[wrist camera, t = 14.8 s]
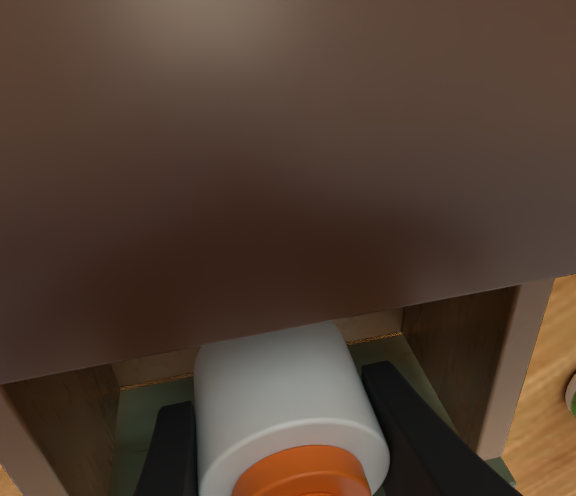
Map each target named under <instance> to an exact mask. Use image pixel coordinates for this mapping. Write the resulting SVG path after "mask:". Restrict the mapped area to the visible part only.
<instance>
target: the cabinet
mask: <svg viewBox="0 0 576 496" xmlns="http://www.w3.org/2000/svg"><path fill="white" fill-rule="evenodd" d="M573 274H576V0H0V385H1V384H6V383H11V382H16V381H22V380H27V379H32V378H37V377H42V376H48V375H53V374H58V373H63V372H68V371H74V370H79V369H84V368H89V367H94V366H100V365H105V364H110V363H115V362H120V361H126V360H131V359H136V358H141V357H146V356H152V355H157V354H162V353H167V352H172V351H178V350H183V349H188V348H193V347H198V346H204V345H209V344H214V343H219V342H224V341H230V340H235V339H240V338H245V337H250V336H256V335H261V334H266V333H271V332H276V331H282V330H287V329H292V328H297V327H302V326H308V325H313V324H318V323H323V322H328V321H334V320H339V319H344V318H349V317H354V316H360V315H365V314H370V313H375V312H380V311H386V310H391V309H396V308H401V307H406V306H412V305H417V304H422V303H427V302H432V301H438V300H443V299H448V298H453V297H458V296H464V295H469V294H474V293H479V292H484V291H490V290H495V289H500V288H505V287H510V286H516V285H521V284H526V283H531V282H536V281H542V280H547V279H552V278H557V277H562V276H568V275H573Z"/></svg>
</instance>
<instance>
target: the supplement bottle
mask: <svg viewBox="0 0 576 496" xmlns="http://www.w3.org/2000/svg"><path fill="white" fill-rule="evenodd" d="M565 400H566V404H567V406H568V408H569V410H570V411H571V412H572V414H573V415H574V416H575V417H576V373H575V375H574V376H573V378H572V379H571V381H570V383H569V385H568V387H567V390H566V395H565Z"/></svg>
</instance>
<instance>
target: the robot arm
mask: <svg viewBox="0 0 576 496" xmlns="http://www.w3.org/2000/svg"><path fill="white" fill-rule="evenodd" d="M361 381H362V383H363V386H364V388H365V391H366V393H367V396H368V398H369V401H370V403H371V405H372V408H373V410H374V413H375V415H376V418H377V420H378V422H379V425H380V427H381V430H382V432H383V435H384V437H385V440H386V442H387V444H388V448H389V451H390V465H389V470H388V473H387V475H386V478H385V479H384V481H383V483H382V487H383V489H384V491H385V494H386V496H523V495H522V494H521V493H519V492H518V491H517V490H516V489H515V488H514V487H512V486H511V485H510V484H509V483H508V482H507V481H506V480H504V479H503V478H502V477H501V476H500V475H499V474H498V473H497V472H496V471H495V470H493V469H492V468H491V467H490V466H489V465H488V464H487V463H486V462H485V461H484V460H483V459H482V458H480V457H479V456H478V455H477V454H476V453H475V452H474V451H473V450H472V449H471V448H470V447H469V446H468V445H467V444H466V443H465V442H464V441H463V440H462V439H461V438H460V437H459V436H458V435H457V434H456V433H455V432H454V431H453V430H452V429H451V428H450V427H449V426H448V425H447V424H446V423H445V422H444V421H443V420H442V419H441V418H440V417H439V416H438V415H437V414H436V413H435V411H434V410H433V409H432V408H431V407H430V406H429V405H428V404H427V403H426V402H425V401H424V400H423V398H422V397H421V396H420V395H419V394H418V393H417V392H416V391H415V390H414V388H413V387H412V386H411V385H410V384H409V383H408V381H407V380H406V379H405V378H404V377H403V376H402V374H401V373H400V372H399V371H398V370H397V368H396V367H395V366H394V365H393V364H392V363H391V362H390V361H388V360H387V361H382V362H377V363H372V364H367V365H362V372H361ZM133 496H198V475H197V443H196V418H195V412H194V409H193V405H192V402H191V401H186V402H181V403H176V404H171V405H166V406H162V407H161V409H160V410H159V411H158V415H157V419H156V424H155V428H154V432H153V435H152V439H151V443H150V446H149V449H148V453H147V456H146V459H145V462H144V465H143V469H142V472H141V475H140V478H139V480H138V483H137V486H136V489H135V492H134V494H133Z"/></svg>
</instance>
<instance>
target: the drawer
mask: <svg viewBox="0 0 576 496" xmlns="http://www.w3.org/2000/svg"><path fill="white" fill-rule="evenodd" d="M554 280H555V278H552V279H547V280H542V281H536V282H531V283H526V284H521V285H516V286H510V287H505V288H500V289H495V290H490V291H484V292H479V293H474V294H469V295H464V296H458V297H453V298H448V299H443V300H438V301H432V302H427V303H422V304H417V305H412V306H406V307H401V308H396V309H391V310H386V311H380V312H375V313H370V314H365V315H360V316H354V317H349V318H344V319H339V320H334V321H332V322H333V323H334V324H335V325H336V326H337V327H338V329H339V330H340V331H341V333H342V335H343V337H344V339H345V342H351V341H356V340H361V339H366V338H371V337H376V336H381V335H386V334H391V333H396V332H401V331H402V334H403V335H398V336H393V337H388V338H383V339H378V340H373V341H368V342H363V343H358V344H353V345H348V346H347V347H348V349H349V352H350V354H351V357H352V359H353V361H354V364H355V366H356V369H357V371H358V374H359V376H360V379H361V372H362V365H367V364H372V363H377V362H382V361H387V360H388V361H390V362H391V363H392V364H393V365H394V366H395V367H396V368H397V370H398V371H399V372H400V373H401V374H402V376H403V377H404V378H405V379H406V380H407V381H408V383H409V384H410V385H411V386H412V387H413V388H414V390H415V391H416V392H417V393H418V394H419V395H420V396H421V397H422V398H423V400H424V401H425V402H426V403H427V404H428V405H429V406H430V407H431V408H432V409H433V410H434V411H435V413H436V414H437V415H438V416H439V417H440V418H441V419H442V420H443V421H444V422H445V423H446V424H447V425H448V426H449V427H450V428H451V429H452V430H453V431H454V432H455V433H456V434H457V435H458V436H459V437H460V438H461V439H462V440H463V441H464V442H465V443H466V444H467V445H468V446H469V447H470V448H471V449H472V450H473V451H474V452H475V453H476V454H477V455H478V456H479V457H480V458H482V459H483V460H484V461H485V462H486V463H487V464H488V465H489V466H490V467H491V468H492V469H493V470H495V471H496V472H497V473H498V474H499V475H500V476H501V477H502V478H503V479H504V480H506V481H507V482H508V483H509V484H510V485H511V486H512V487H514V488H515V487H516V481H515V480H514V478H513V476H512V475H511V473H510V471H509V470H508V468H507V467H506V465H505V463H504V462H503V460H502V458H501V457H500V456H501V455H502V453H503V450H504V447H505V443H506V440H507V437H508V433H509V430H510V427H511V423H512V420H513V417H514V413H515V410H516V407H517V403H518V400H519V397H520V393H521V390H522V386H523V383H524V380H525V376H526V373H527V370H528V366H529V363H530V360H531V356H532V353H533V350H534V346H535V343H536V340H537V336H538V333H539V330H540V326H541V323H542V320H543V316H544V313H545V310H546V306H547V303H548V300H549V296H550V293H551V290H552V286H553V283H554ZM200 348H201V346H198V347H193V348H188V349H183V350H178V351H172V352H167V353H162V354H157V355H152V356H146V357H141V358H136V359H131V360H126V361H120V362H115V363H110V364H105V365H100V366H94V367H89V368H84V369H79V370H74V371H68V372H63V373H58V374H53V375H48V376H42V377H37V378H32V379H27V380H22V381H16V382H11V383H6V384H1V385H0V464H1V465H2V466H3V468H4V469H5V471H6V472H7V474H8V475H9V476H10V478H11V479H12V481H13V482H14V483H15V485H16V486H17V488H18V489H19V490H20V492H21V493H22V495H23V496H133V494H134V492H135V489H136V486H137V483H138V480H139V478H140V475H141V472H142V469H143V465H144V462H145V459H146V456H147V453H148V449H149V446H150V443H151V439H152V435H153V432H154V428H155V424H156V419H157V415H158V411H159V410H160V409H161V407H162V406H166V405H171V404H176V403H181V402H186V401H191V402H192V405H193V409H194V412H195V404H194V379H193V376H192V377H187V378H182V379H177V380H172V381H167V382H162V383H157V384H152V385H147V386H142V387H137V388H132V389H127V390H122V391H120V387H124V386H129V385H134V384H139V383H144V382H149V381H154V380H159V379H164V378H169V377H174V376H179V375H184V374H189V373H193V367H194V362H195V358H196V356H197V353H198V351H199V349H200ZM372 496H386V494H385V491H384V489H383V487H382V485H381V486H380V487H379V488H378V490H377V491H376V492H375V493H374V494H373V495H372Z"/></svg>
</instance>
